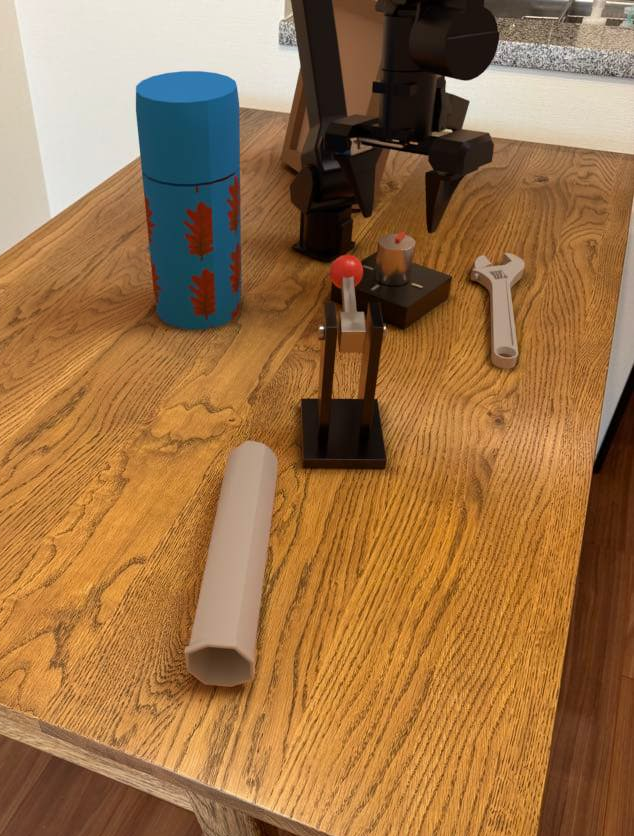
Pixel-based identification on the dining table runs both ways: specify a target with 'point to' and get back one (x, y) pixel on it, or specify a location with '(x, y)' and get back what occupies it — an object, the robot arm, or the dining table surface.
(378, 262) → the dial knob
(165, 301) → the thermos
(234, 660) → the tube
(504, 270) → the adjustable wrench
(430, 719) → the dining table surface
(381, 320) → the lever stand
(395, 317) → the dial base
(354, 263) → the lever
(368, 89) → the photo frame
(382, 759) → the dining table surface
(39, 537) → the dining table surface
